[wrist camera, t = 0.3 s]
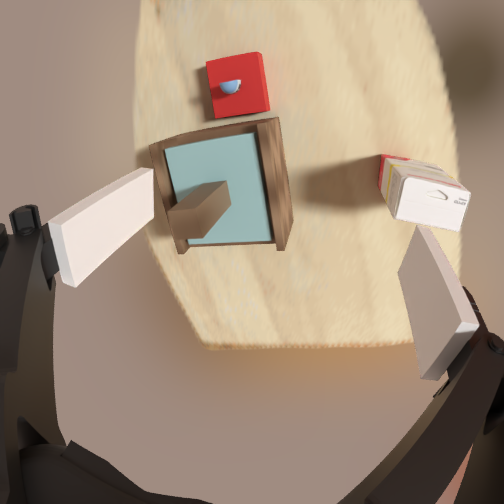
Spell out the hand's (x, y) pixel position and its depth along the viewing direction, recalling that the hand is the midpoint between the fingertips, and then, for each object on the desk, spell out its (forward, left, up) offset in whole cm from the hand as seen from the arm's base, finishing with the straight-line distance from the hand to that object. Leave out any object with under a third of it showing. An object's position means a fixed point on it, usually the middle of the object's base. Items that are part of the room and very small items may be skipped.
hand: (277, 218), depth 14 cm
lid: (+4, -11, -21) cm, 24 cm away
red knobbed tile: (-8, -8, -28) cm, 30 cm away
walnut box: (+4, -11, -28) cm, 30 cm away
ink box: (+6, +13, -28) cm, 31 cm away
